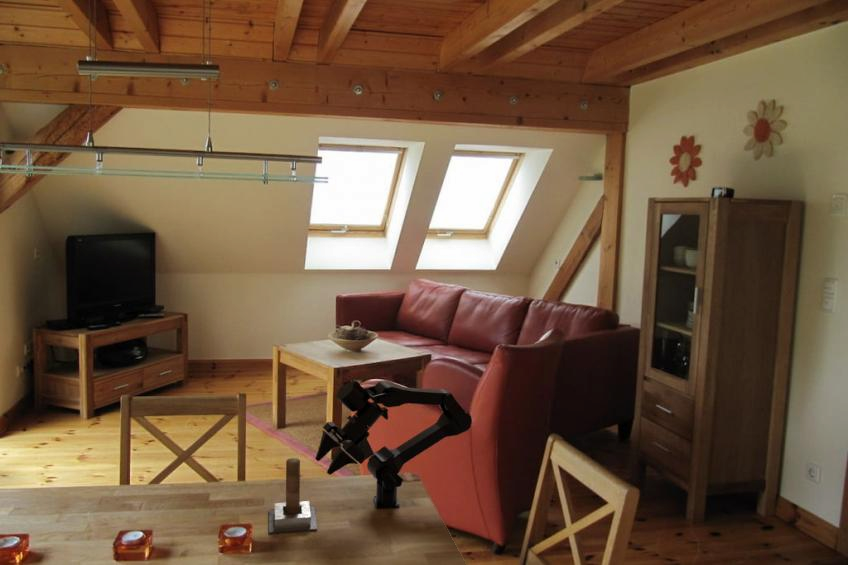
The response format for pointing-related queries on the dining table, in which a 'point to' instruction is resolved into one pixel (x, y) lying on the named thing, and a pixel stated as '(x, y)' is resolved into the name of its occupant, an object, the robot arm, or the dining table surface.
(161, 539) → the dining table surface
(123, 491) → the dining table surface
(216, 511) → the dining table surface
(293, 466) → the walnut peg
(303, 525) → the steel socket
